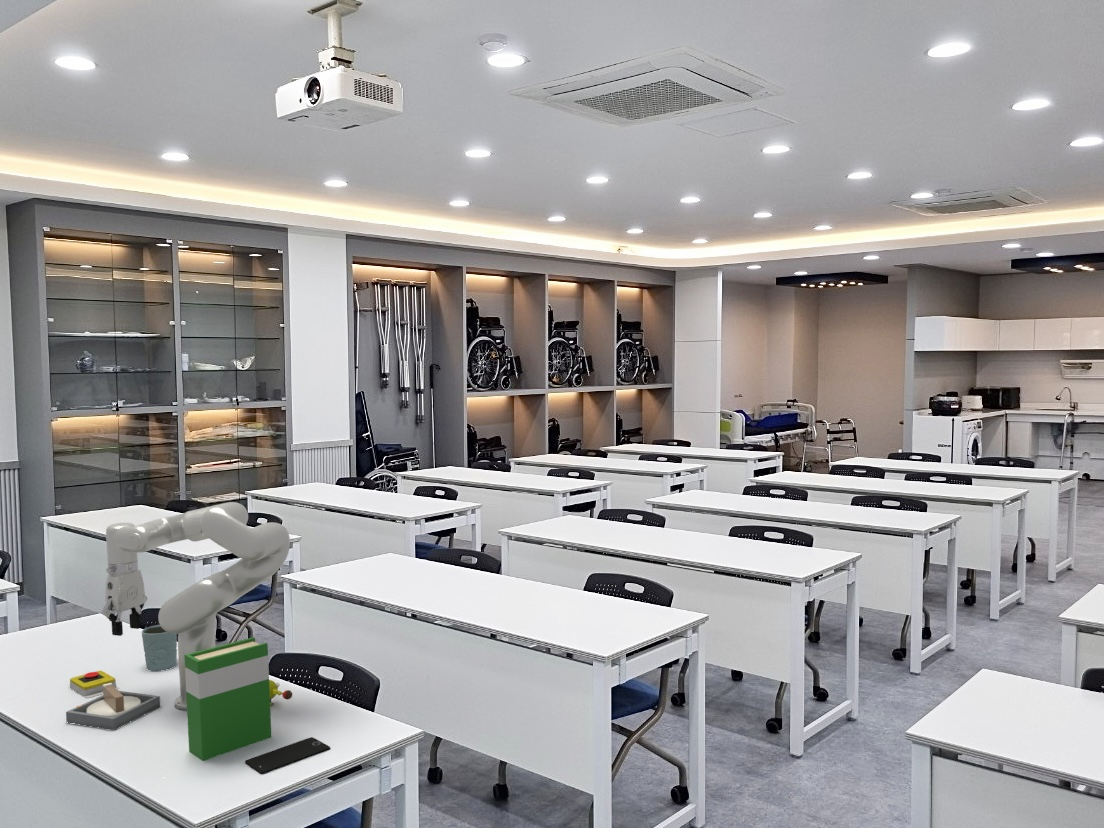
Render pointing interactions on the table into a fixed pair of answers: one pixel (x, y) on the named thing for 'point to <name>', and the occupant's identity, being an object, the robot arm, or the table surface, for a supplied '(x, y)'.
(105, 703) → the dial
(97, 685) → the emergency button
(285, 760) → the cell phone
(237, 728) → the hardback book
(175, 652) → the teal cup
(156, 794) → the table surface
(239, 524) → the robot arm
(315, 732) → the table surface
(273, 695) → the toy figure
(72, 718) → the dial housing
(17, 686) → the table surface
